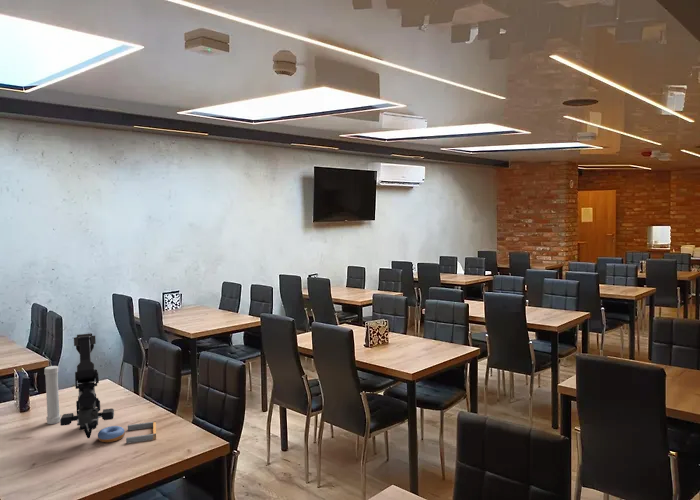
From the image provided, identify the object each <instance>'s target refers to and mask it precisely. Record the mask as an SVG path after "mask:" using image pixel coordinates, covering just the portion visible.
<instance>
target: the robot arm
mask: <svg viewBox="0 0 700 500" xmlns="http://www.w3.org/2000/svg"><path fill="white" fill-rule="evenodd" d="M96 343H97V341H96V335H93V333H91V332H90V333H80V334H77V335H76V336H75V337H73V346H74V347H75V349H76V352H77V353H78V354H79V363H78V364H77V365H76V371H75V372H74V378H75V379H74V380H75V381H74V384H75V385H74V386H75V390H77V389H78V396H77V400H76V402H75V404H76V406H75V407H76V414H75V415H74V413H73V412H70V413H63V415H61V417H60V422H59V423H60V424H59V425H60V426H63V427H64V426H69V425H70V424H71V423H72V422H75V421H76V422H77V423H76V426H79V428H78V430H80V431H81V430H83V432H84V434H85V436H86V438H87V439H91V435H92V431H93V429H95V428H97V426H98V424H99V419H100V418H102V420H104V421H109V420H110V421H111V420H113V419H114V416H115V409H113V408H105V409H102V412H100V411H101V400H100V399H99V397H97V393H96V389H95V387H98V384H99V383H100V380H99V379H100V378H99V370H98V369H95V363H93V362H92V358H91V357H92V356H91V355H92V352H93V350H94V348H95V345H97V344H96Z"/></svg>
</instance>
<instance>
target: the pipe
mask: <svg viewBox="0 0 700 500" xmlns="http://www.w3.org/2000/svg"><path fill="white" fill-rule="evenodd" d="M45 358H47V360H48V361H49V363H50V366H46V367H45V368H44V373H43V375H45V392H46V394H45V395H46V414H47V416H46V418H45V419H46V424H47V425H55V424H59V423H60V419H61V417H62V415H61V414H60V397H59V396H60V395H59V375H58V373H59V366H58V365H52V362H51V360H50V359H49V357H47V356H46V355H45Z"/></svg>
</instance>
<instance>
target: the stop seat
mask: <svg viewBox="0 0 700 500" xmlns="http://www.w3.org/2000/svg"><path fill="white" fill-rule="evenodd" d="M150 428H152V432H153V433H149V434H144V435H136V436H130V437H129V436H127V437H125V442H126V444H131V443H133V444H134V443H140V442H145V441H146V442H148V441H153V440H152V439H155V440H157V421H149V422H142V423H134V424H127V431H129V432H130V431H136V430H141V429H142V430H145V429H150ZM147 440H148V441H147Z"/></svg>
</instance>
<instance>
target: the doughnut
mask: <svg viewBox="0 0 700 500" xmlns="http://www.w3.org/2000/svg"><path fill="white" fill-rule="evenodd" d="M124 436H125V428H123V427H122V426H119V425H110V426H107V427H103V428H101V429H100V430H99V431H98V433H97V439H98V441H99V442H101V443H114V442H117V441H120V440H121V439H123V438H124Z"/></svg>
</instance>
